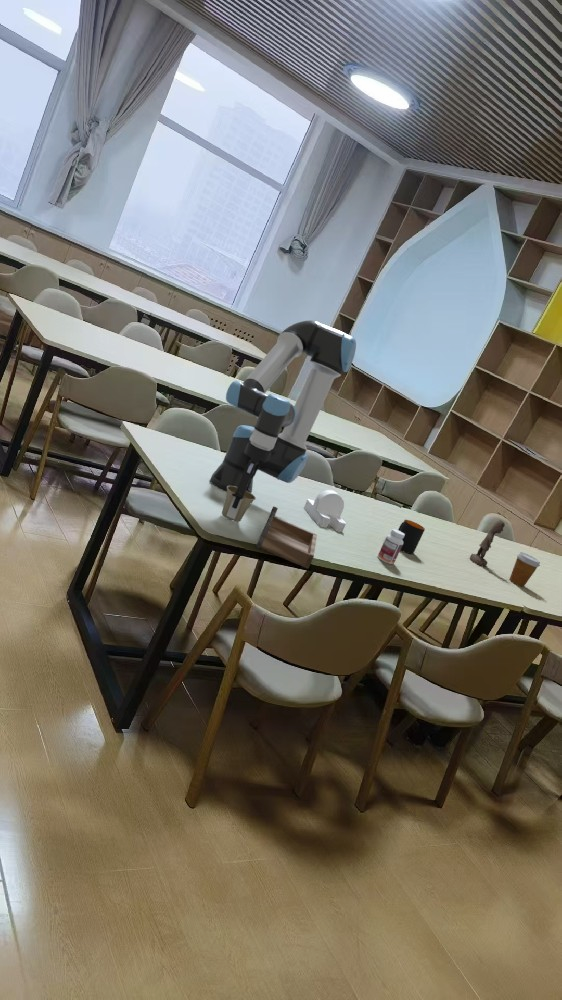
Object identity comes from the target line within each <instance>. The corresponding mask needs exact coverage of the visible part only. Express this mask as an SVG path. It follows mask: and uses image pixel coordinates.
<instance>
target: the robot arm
mask: <svg viewBox="0 0 562 1000" xmlns="http://www.w3.org/2000/svg"><path fill="white" fill-rule="evenodd" d="M276 341H277V342H276V344H274V346H273V347H272V348H271V349H270V351H269V352H268V353H266V355H265V356H264V357H263V358H262V359H261V361H260V362H259V363H258V365H256V366H255V368H254V369H253V370H252V372H251V373H250V374H249V375H248V376H247V377H246V379H244V381H243V382H242V381H239V380H234V381H232V382H231V383H230V384H229V386H228V388H227V390H226V394H225V401H226V402H227V403H228V404H229V405H230V406H233V407H234V408H237V409H239V410H242V411H244V412H246V413H247V414H249V415H253V416H255V417H257V420H256V422H255V425H254V426H250V425H244V424H243V425H242V424H241V425H239V426H237V427H236V428H235V431H234V433H233V435H232V437H231V440H230V442H229V445H228V448H227V450H226V453H225V456H224V457H223V460H222V462H221V464H220V465H219V466H218V467H217V469H215V471H214V472H213V473H212V474H211V476H210V479H209V482H210V483H211V484H212V486H214V487H216V488H217V489H219V490H221V491H223V492H225V493H226V492H227V486H235V487H238V488H237V490H236V493H235V494H234V493H233V494H232V496H234V497H233V500H232V502H231V505H230V507H229V510H228V512H227V515H226V516H228V517H230V518H233V519H235V517H236V515H237V512H238V510H239V507H240V505H241V502H242V500H243V496H244V494H245V491H248V492H250V493H251V494H252V492H253V487H254V486H253V483H254V477H255V476H256V473H257V472H258V471H260V472H262V473H264V474H266V475H269V476H271V477H273V478H275V479H276V480H279V481H281V482H285V483H287V484H291V483H292V482H294V481H296V479H297V478H298V477H299V476H300V474H301V473H302V471H303V469H304V468H305V467H306V464H307V462H308V459H309V456H308V455H307V454H306V452H307V450H308V448H307V446H306V445H307V444H306V441H307V440H308V437H309V435H310V432H311V431H312V429H313V426H314V424H315V421H316V420H317V417H318V416H319V413H320V412H321V409H322V407H323V404H324V403H325V400H326V398H327V396H328V394H329V391H330V390H331V387H332V385H333V383H334V382H335V381H334V380H335V379H337V378H339V377H341V376H342V373H347V372H348V371H350V368H351V366H352V364H353V361H354V357H355V354H356V349H357V341H356V339H355V338H354V337H353V336H351V335H350V334H347V333H346V332H343V331H341V330H339V329H336V328H333V327H332V326H328V325H326V324H324V323H321V322H320V321H317V320H303V321H299V322H296V323H294V324H292V325H289V326H288V327H286V328H285V329H283V331H282V332H281V333H280V334H278V337H277V340H276ZM302 354H303V355H306V356H308V357H311V358H310V360H309V364H310V367H311V368H310V371H309V373H308V375H307V377H306V379H305V382H304V384H303V387H302V388H301V391H300V393H299V395H298V397H297V399H296V401H295V404H294V405H293V404H292V403H291V402H290V401H289V400H288V399H286V398H284V397H282V396H280V395H276V394H272V393H268V394H267V392H268V391H269V389H270V388H271V387H272V385H273V384H274V383H275V382H276V380H277V379H278V378H279V377H280V376H281V375H282V373H283V372H284V371H285V369H287V367H288V366H289V365H290V364H291V363H292V361H293V360H294V359H295V358H299V357H300V356H301V355H302ZM282 428H283V429H282ZM281 430H282V432H281ZM239 493H241V494H239Z"/></svg>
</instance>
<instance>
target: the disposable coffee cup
mask: <svg viewBox="0 0 562 1000" xmlns="http://www.w3.org/2000/svg"><path fill="white" fill-rule="evenodd" d="M516 557H517V558H516V560H515V562H514V566H513V568H512V570H511V574H510V577H509V581H510V582H511V583H513V584H515V585H516V586H519V587H522V588H524V587H525V586H526V584H527V583H528V581H529V580H530V578H531V577H532V576H533V575H534V573H535V572H536V570H537V568H538V567H540V564H541V561H540V560H539V559H538V558H535V557H534V556H532V555H529V554H528V553H525V552H519V553H518V554H517V556H516Z"/></svg>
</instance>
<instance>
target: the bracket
mask: <svg viewBox="0 0 562 1000" xmlns="http://www.w3.org/2000/svg"><path fill="white" fill-rule="evenodd" d="M344 508H345V502H344V499H343V497H341V495H339V493H338V492H336V491H335V490H332V489H326V490H323V491H322V492H320V493H319V494H318V495H317V496H316V497H315V500H313V499H310V498H307V500H306V502H305V504H304V507H303V509H304V510H305V511H306V513H308V514H309V515H310V517H311V518H312V520H313V521H314V522H316V524H317V525H318V526H320V527H322V528H325V529H327V527H328V525H329V526H331V527H332V528H333V530H334V531H336V532H339V533H343V532H344V531H345V530H344V529H345V527H346V524H347V523H346V521H345V520H344V519H343V518H342V517H341V515H342V513H343V510H344Z"/></svg>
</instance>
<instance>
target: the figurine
mask: <svg viewBox="0 0 562 1000" xmlns="http://www.w3.org/2000/svg"><path fill="white" fill-rule="evenodd" d="M505 526H506V525H505V522H504V521H503V520H502V519H501V520H497V521H495V522H494V523H493V525H492V527H491V528H490V530H489V531H488V532H487V535H486V536H485V537H484V539H483V540H482V541H481V543H480V544H479V548H478V550H477V553H471V555H469V560H470V561H471V562H473V564H476V565H477V566H480V567H486V566H487V565H488V563H489V562H488V561H487V560H486V559H485V556H486V554H487V552H489V549H491V548H492V546H491V544H492V543H493V541H494V537H495V535H496V534H501V533H502V532H503V531H504V527H505Z"/></svg>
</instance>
